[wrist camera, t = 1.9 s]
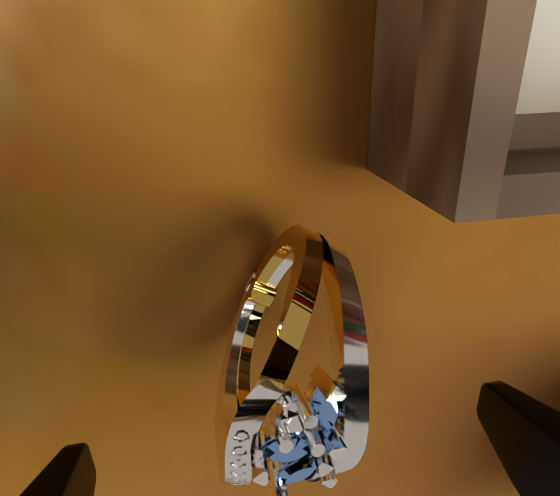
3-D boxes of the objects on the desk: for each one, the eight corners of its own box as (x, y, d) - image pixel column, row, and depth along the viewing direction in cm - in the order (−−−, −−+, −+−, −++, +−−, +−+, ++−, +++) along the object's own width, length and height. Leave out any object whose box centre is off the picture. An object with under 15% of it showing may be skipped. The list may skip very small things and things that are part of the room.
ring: (260, 181, 14) (321, 305, 6) (339, 218, 15) (469, 360, 8) (181, 343, 16) (161, 575, 8) (256, 365, 17) (295, 590, 10)
